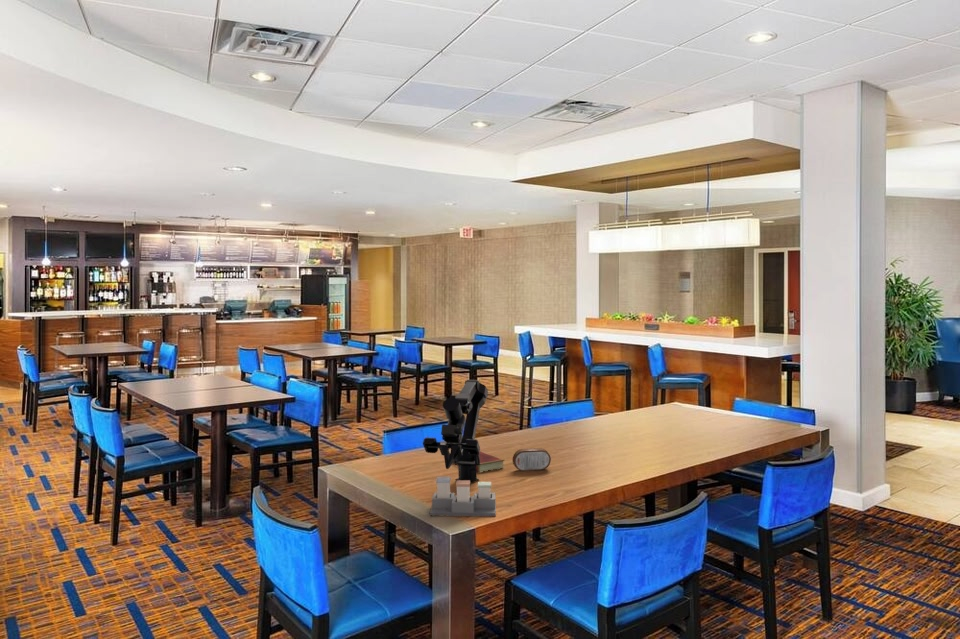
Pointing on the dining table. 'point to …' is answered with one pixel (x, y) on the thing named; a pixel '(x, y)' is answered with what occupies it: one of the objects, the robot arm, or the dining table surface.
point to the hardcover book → (489, 462)
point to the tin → (531, 459)
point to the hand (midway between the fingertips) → (447, 468)
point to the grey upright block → (443, 487)
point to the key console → (463, 506)
